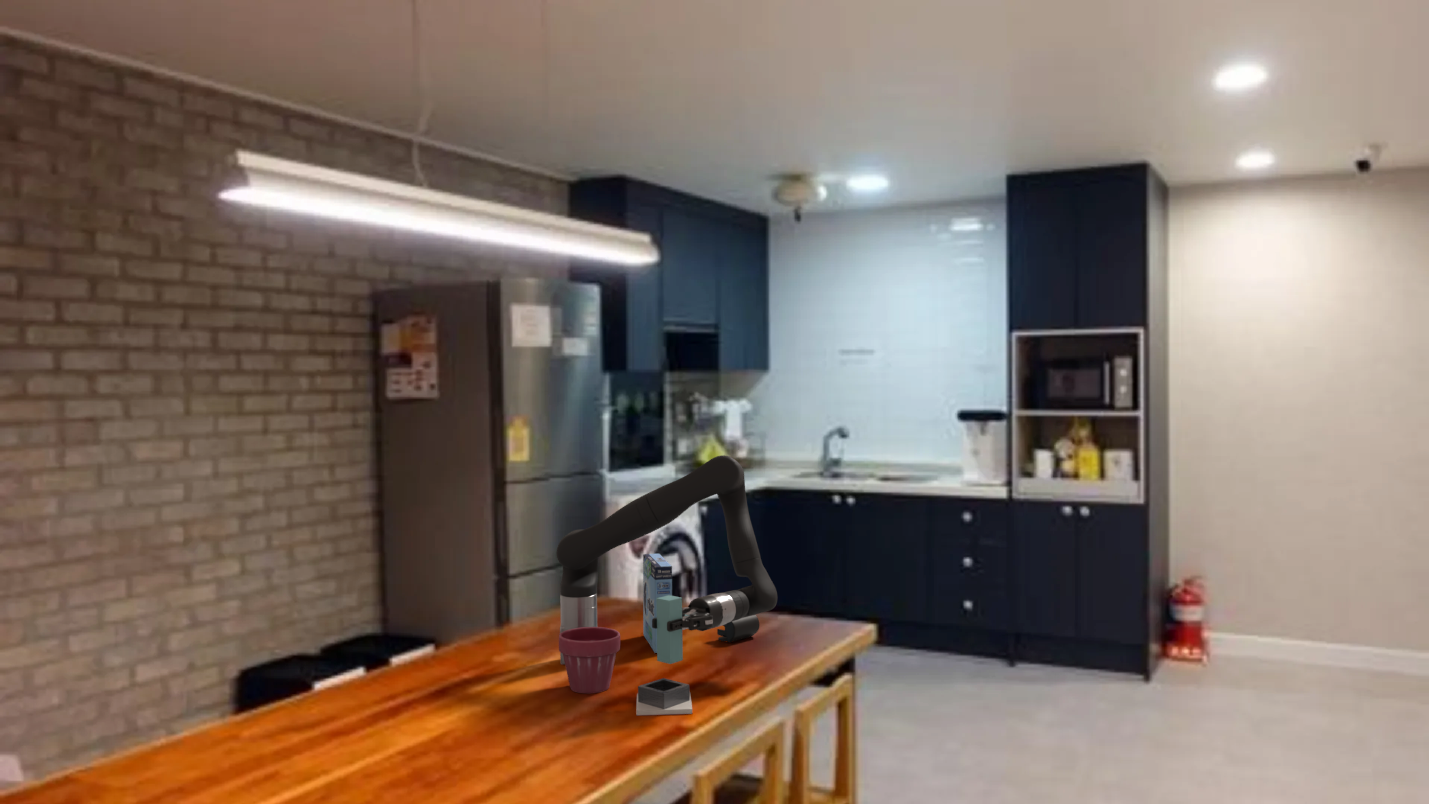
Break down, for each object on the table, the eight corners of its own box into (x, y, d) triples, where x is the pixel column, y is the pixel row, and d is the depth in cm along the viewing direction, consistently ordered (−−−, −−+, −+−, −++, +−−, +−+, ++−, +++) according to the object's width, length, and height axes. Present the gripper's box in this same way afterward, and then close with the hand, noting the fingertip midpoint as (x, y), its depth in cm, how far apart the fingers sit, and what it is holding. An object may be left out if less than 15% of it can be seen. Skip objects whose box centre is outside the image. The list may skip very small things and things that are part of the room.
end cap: (735, 645, 286) (734, 620, 286) (716, 640, 292) (715, 615, 291) (760, 638, 294) (759, 613, 293) (741, 633, 299) (741, 609, 298)
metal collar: (664, 709, 230) (664, 693, 230) (638, 702, 235) (638, 686, 235) (689, 700, 236) (689, 684, 236) (663, 693, 241) (663, 678, 241)
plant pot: (631, 683, 253) (631, 629, 252) (601, 700, 240) (600, 643, 240) (580, 676, 259) (579, 623, 258) (547, 692, 246) (546, 637, 246)
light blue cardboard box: (643, 635, 297) (642, 554, 296) (661, 634, 298) (660, 553, 298) (654, 654, 278) (653, 566, 277) (673, 652, 279) (672, 565, 279)
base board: (636, 715, 229) (636, 710, 229) (637, 698, 241) (637, 693, 241) (692, 713, 230) (692, 709, 230) (690, 696, 242) (690, 692, 242)
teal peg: (670, 664, 234) (669, 600, 234) (657, 660, 237) (656, 598, 236) (682, 660, 237) (681, 597, 237) (669, 657, 240) (668, 595, 239)
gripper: (689, 591, 252) (637, 604, 239) (735, 599, 243) (684, 613, 230) (689, 622, 252) (637, 637, 239) (735, 632, 243) (684, 647, 230)
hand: (660, 625), depth 235 cm, fingers closed on teal peg, 4 cm apart
